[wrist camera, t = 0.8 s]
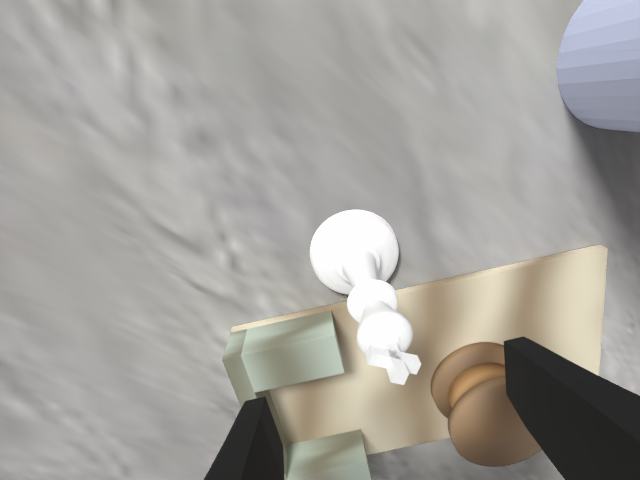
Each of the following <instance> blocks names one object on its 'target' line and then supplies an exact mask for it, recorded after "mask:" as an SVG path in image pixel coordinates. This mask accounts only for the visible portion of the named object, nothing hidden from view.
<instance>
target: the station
mask: <svg viewBox="0 0 640 480" xmlns="http://www.w3.org/2000/svg"><path fill="white" fill-rule="evenodd" d="M607 254H608V248H606V247H604V246H602V245H600V244H599V245H595V246H590V247H586V248H582V249H577V250H573V251H568V252H564V253H559V254H555V255H550V256H546V257H541V258H537V259H532V260H528V261H524V262H519V263H515V264H510V265H506V266H501V267H497V268H492V269H488V270H483V271H479V272H475V273H470V274H466V275H461V276H457V277H452V278H448V279H443V280H439V281H434V282H430V283H425V284H421V285H417V286H412V287H408V288H403V289H399V290H395V291H396V293H397V297H398V305H397V309H396V311H397V312H399V313H400V314H402V315H403V316H404V317H405V318H406V319H407V320H408V321H409V323H410V325H411V327H412V330H413V339H412V342H411V344H410V346H409V348H408V349H407V350H406V351H405V353H409V354H414V355H417V356H418V358H419V360H420V362H421V366H420V368H419V370H418V372H417V375H416V374H411V373H409V375H408V377H407V380H406V382H405V384H404V385H401V384H396V383H391V382H390V379H389V376H388V372H387V369H386V368H382V367H378V366H373V365H368V363H367V359H366V355H365V354H364V353H363V352H362V351H361V350H360V348H359V346H358V343H357V331H358V327H359V324H360V323H359V322H357V321H356V320H355V319H354V318H353V317H352V316H351V315H350V313H349V311H348V308H347V301H345V302H341V303H336V304H332V305H327V306H323V307H318V308H314V309H309V310H305V311H301V312H296V313H292V314H287V315H283V316H278V317H274V318H269V319H265V320H260V321H256V322H251V323H247V324H243V325H238V326H234V327H232V329H231V333H230V336H229V339H228V343H227V346H226V349H225V353H224V356H223V359H222V361H223V363H224V366H225V368H226V371H227V373H228V376H229V378H230V381H231V383H232V386H233V388H234V391H235V393H236V396H237V398H238V401H239V403H240V406H241V408H242V406H243V404H244V402H245V401H247V400H251V399H256V398H260V397H264V396H265V397H266V399H267V402H268V405H269V408H270V411H271V413H272V416H273V419H274V422H275V425H276V427H277V430H278V433H279V436H280V439H281V441H282V444H283V454H284V479H285V480H372V478H371V473H370V468H369V462H368V457H367V455H370V454H375V453H379V452H384V451H389V450H394V449H398V448H403V447H408V446H413V445H417V444H422V443H427V442H432V441H436V440H441V439H446V438H450V437H451V439H452V441H453V444H454V446H455V448H456V450H457V451H458V453H459V454H460V455H461V456H462V457H464V458H465V459H466V460H468V461H470V462H472V463H475V464H478V465H482V466H490V467H497V466H506V465H511V464H514V463H517V462H520V461H523V460H525V459H527V458H529V457H531V456H533V455H534V454H536V453H537V452H539V451H540V450H541V449H542V448H541V447H540V446H539V444H538V443H537V442H536V440H535V439H534V438H533V436H532V435H531V434H530V432H529V431H528V430H527V428H526V427H525V425H524V423H523V422H522V420H521V419H520V417H519V415H518V414H517V412H516V410H515V408H514V407H513V405H512V403H511V402H510V400H509V398H508V396H507V395H506V378H505V359H504V341H506V340H510V339H515V338H519V337H523V336H524V337H526V338H528V339H530V340H532V341H534V342H536V343H538V344H540V345H542V346H543V347H545V348H547V349H549V350H551V351H553V352H554V353H556V354H558V355H560V356H562V357H564V358H566V359H567V360H569V361H571V362H573V363H575V364H577V365H579V366H581V367H582V368H584V369H586V370H588V371H590V372H592V373H594V374H596V375H598V376H599V366H600V352H601V338H602V324H603V310H604V296H605V282H606V268H607Z"/></svg>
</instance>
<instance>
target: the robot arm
mask: <svg viewBox="0 0 640 480" xmlns="http://www.w3.org/2000/svg"><path fill="white" fill-rule="evenodd" d="M557 76H558V86H559V89H560V93H561V96H562V99H563V100H564V102H565V104H566V106H567V108H568V109H569V110H570V111H571V113H572V114H573V115H574V116H575V117H576V118H577V119H579V120H580V121H582V122H583V123H585V124H587V125H590V126H592V127H595V128H599V129H609V130H621V131H633V132H640V0H584V1H583V2H582V3H581V4H580V6H579V7H578V9H577V10H576V12H575V14H574V15H573V17H572V18H571V20H570V22H569V24H568V27H567V29H566V31H565V33H564V36H563V39H562V42H561V46H560V50H559V54H558V64H557ZM504 359H505V378H506V395H507V396H508V398H509V400H510V402H511V403H512V405H513V407H514V408H515V410H516V412H517V414H518V415H519V417H520V419H521V420H522V422H523V423H524V425H525V427H526V428H527V430H528V431H529V432H530V434H531V435H532V436H533V438H534V439H535V440H536V442H537V443H538V444H539V446H540V447H541V448H542V450H543V451H544V452H545V454H546V455H547V456H548V458H549V459H550V460H551V462H552V463H553V464H554V466H555V467H556V468H557V470H558V471H559V472H560V474H561V475H562V476H563V478H564V479H565V480H640V396H639V395H637V394H635V393H632V392H630V391H628V390H626V389H624V388H622V387H620V386H618V385H616V384H614V383H612V382H610V381H608V380H606V379H604V378H602V377H600V376H598V375H596V374H594V373H592V372H590V371H588V370H586V369H584V368H582V367H581V366H579V365H577V364H575V363H573V362H571V361H569V360H567V359H566V358H564V357H562V356H560V355H558V354H556V353H554V352H553V351H551V350H549V349H547V348H545V347H543V346H542V345H540V344H538V343H536V342H534V341H532V340H530V339H528V338H526V337H524V336H523V337H519V338H515V339H510V340H506V341H504ZM204 480H285V479H284V454H283V444H282V441H281V439H280V436H279V433H278V430H277V427H276V425H275V422H274V419H273V416H272V413H271V411H270V408H269V405H268V402H267V399H266V397H265V396H264V397H260V398H256V399H251V400H247V401H245V402H244V404H243V406H242V408H241V410H240V412H239V414H238V416H237V418H236V420H235V422H234V424H233V426H232V428H231V430H230V432H229V434H228V436H227V438H226V440H225V442H224V444H223V445H222V447H221V449H220V451H219V453H218V455H217V457H216V458H215V460H214V462H213V464H212V466H211V468H210V470H209V471H208V473H207V475H206V477H205V478H204Z"/></svg>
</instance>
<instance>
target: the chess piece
mask: <svg viewBox="0 0 640 480" xmlns="http://www.w3.org/2000/svg"><path fill="white" fill-rule="evenodd" d="M398 256H399V248H398V243H397V239H396V236H395V233H394V231H393V229H392V228H391V226H390V225H389V224H388V223H387V222H386V221H385V220H384V219H383V218H382V217H380V216H378V215H377V214H374V213H372V212H369V211H365V210H347V211H343V212H340V213H337V214H335V215H333V216H332V217H330V218H328V219H327V220H326V221H325V222H324V223H322V225H321V226H320V227H319V228H318V229H317V231H316V233H315V234H314V236H313V239H312V242H311V246H310V259H311V263H312V266H313V269H314V271H315V273H316V275H317V276H318V278H319V279H320V281H321V282H322V283H323V284H324V285H326V286H327V287H328V288H330V289H332V290H334V291H336V292H338V293H342V294H347V295H349V296H348V299H347V308H348V311H349V313H350V315H351V316H352V317H353V318H354V319H355V320H356V321H357V322H359V323H360V324H359V327H358V331H357V343H358V346H359V348H360V350H361V351H362V352H363V353H364V354H365V355H366V359H367V363H368V365H373V366H378V367H382V368H386V369H387V372H388V376H389V379H390V382H391V383H396V384H401V385H404V384H405V382H406V380H407V377H408V375H409V373H411V374H416V375H417V372H418V370H419V368H420V366H421V362H420V360H419V358H418V356H417V355H414V354H409V353H405V351H406V350H407V349H408V348H409V346H410V344H411V342H412V339H413V330H412V327H411V325H410V323H409V321H408V320H407V319H406V318H405V317H404V316H403V315H402V314H400V313H399V312H397V311H396V309H397V305H398V297H397V293H396V291H395V289H394V288H393V287H392V286H391V285H390V284H388V283H387V282H386V281H387V280H388V279H389V278H390V276H391V275H392V273H393V272H394V270H395V268H396V265H397V262H398Z"/></svg>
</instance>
